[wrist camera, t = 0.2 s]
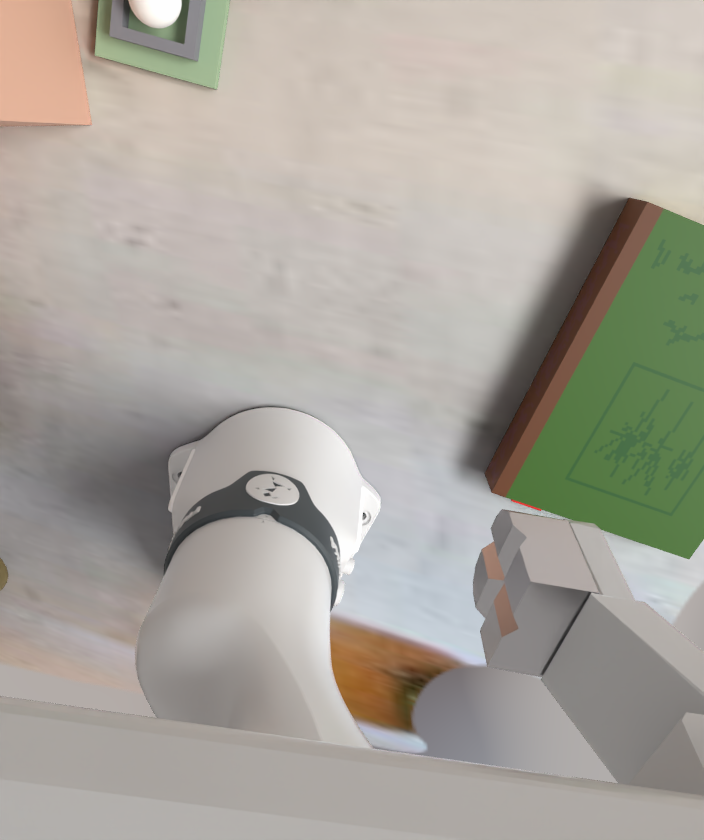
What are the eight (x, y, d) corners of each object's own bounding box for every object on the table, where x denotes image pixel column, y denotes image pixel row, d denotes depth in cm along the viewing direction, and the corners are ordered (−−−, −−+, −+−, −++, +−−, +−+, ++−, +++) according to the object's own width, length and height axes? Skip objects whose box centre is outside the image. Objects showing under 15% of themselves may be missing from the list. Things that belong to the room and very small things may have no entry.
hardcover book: (626, 197, 46) (647, 201, 42) (841, 287, 48) (878, 298, 45) (480, 477, 55) (487, 499, 52) (665, 540, 58) (684, 565, 54)
